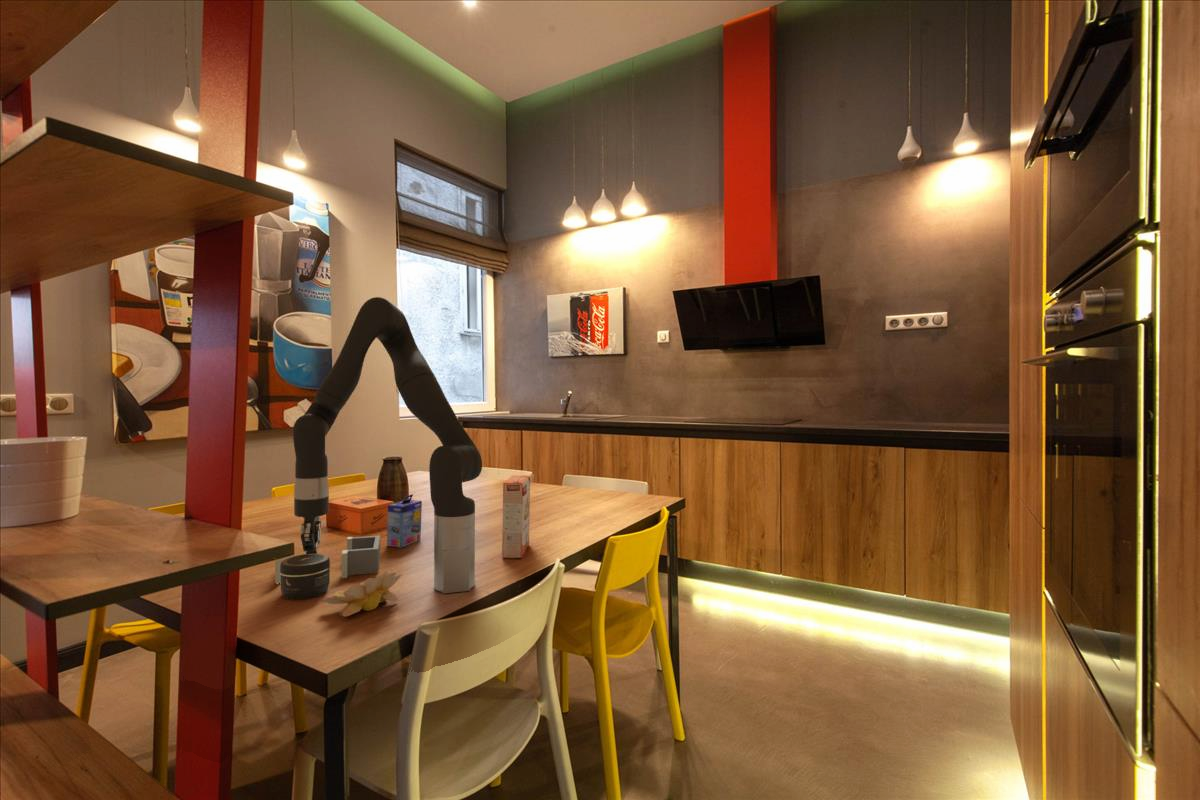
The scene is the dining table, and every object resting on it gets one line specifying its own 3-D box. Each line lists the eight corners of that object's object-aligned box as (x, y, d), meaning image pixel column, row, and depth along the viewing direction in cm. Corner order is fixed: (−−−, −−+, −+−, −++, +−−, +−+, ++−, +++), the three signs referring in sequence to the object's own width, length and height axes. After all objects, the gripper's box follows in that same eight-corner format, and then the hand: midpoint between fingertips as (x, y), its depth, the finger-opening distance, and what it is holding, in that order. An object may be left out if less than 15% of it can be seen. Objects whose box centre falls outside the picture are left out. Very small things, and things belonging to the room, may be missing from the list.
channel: (377, 574, 139) (377, 550, 139) (275, 584, 132) (275, 559, 132) (380, 556, 155) (380, 534, 154) (288, 564, 147) (288, 541, 147)
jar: (269, 599, 123) (269, 564, 123) (302, 583, 133) (302, 551, 133) (308, 603, 121) (308, 567, 121) (339, 587, 131) (339, 554, 131)
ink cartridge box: (402, 548, 162) (402, 498, 162) (386, 546, 164) (385, 497, 164) (422, 539, 172) (422, 492, 172) (407, 538, 173) (407, 491, 173)
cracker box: (523, 559, 153) (523, 482, 152) (501, 559, 153) (501, 482, 152) (530, 545, 167) (531, 474, 166) (510, 544, 167) (510, 474, 166)
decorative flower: (382, 582, 129) (385, 542, 127) (411, 605, 123) (414, 563, 121) (316, 606, 118) (318, 563, 115) (344, 633, 111) (346, 588, 109)
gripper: (324, 499, 132) (323, 573, 133) (332, 489, 145) (332, 556, 145) (288, 501, 130) (288, 575, 130) (300, 490, 143) (300, 559, 143)
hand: (311, 565), depth 138 cm, fingers closed
